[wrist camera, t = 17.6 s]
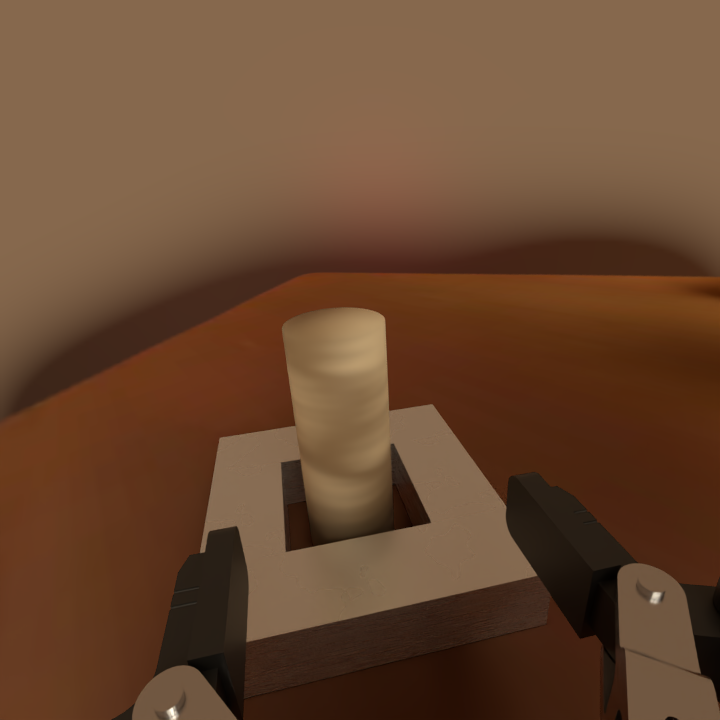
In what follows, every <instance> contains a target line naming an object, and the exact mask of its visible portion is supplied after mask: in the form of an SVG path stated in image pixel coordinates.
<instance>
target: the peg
mask: <svg viewBox="0 0 720 720" xmlns="http://www.w3.org/2000/svg"><path fill="white" fill-rule="evenodd" d="M282 333H283V340H284V347H285V354H286V361H287V368H288V375H289V382H290V390H291V397H292V404H293V411H294V418H295V425H296V432H297V439H298V446H299V453H300V460H301V467H302V474H303V481H304V488H305V495H306V503H307V510H308V517H309V524H310V531H311V538H312V545H313V547H314V546H319V545H324V544H329V543H334V542H339V541H344V540H349V539H354V538H359V537H364V536H369V535H374V534H379V533H384V532H389V531H394V512H393V489H392V467H391V444H390V421H389V398H388V375H387V352H386V330H385V318H384V317H383V316H382V315H381V314H379V313H377V312H375V311H372V310H367V309H361V308H329V309H321V310H316V311H311V312H307V313H304V314H301V315H298V316H295V317H293V318H291V319H289V320H288V321H287V322H285V323H284V325H283V326H282Z"/></svg>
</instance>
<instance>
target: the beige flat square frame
mask: <svg viewBox="0 0 720 720" xmlns="http://www.w3.org/2000/svg"><path fill="white" fill-rule="evenodd" d="M389 421H390V444H391V467H392V485H394V484H396V487H397V489H398V492H399V494H400V496H401V499H402V501H403V503H404V506H405V508H406V511H407V513H408V515H409V518H410V520H411V523H412V525H413V527H409V528H404V529H399V530H394V531H389V532H384V533H379V534H374V535H369V536H364V537H359V538H354V539H349V540H344V541H339V542H334V543H329V544H324V545H319V546H314V547H309V548H304V549H299V550H294V551H291V544H290V530H289V515H288V504H291V503H297V502H302V501H306V495H305V488H304V481H303V474H302V467H301V460H300V453H299V446H298V439H297V432H296V426H292V427H286V428H279V429H273V430H267V431H260V432H254V433H248V434H242V435H235V436H229V437H223V438H220V440H219V445H218V451H217V457H216V463H215V469H214V474H213V480H212V486H211V492H210V498H209V503H208V509H207V515H206V521H205V527H204V533H203V538H202V544H201V550H200V553H204V552H205V548H206V542H207V536H208V533H209V531H212V530H218V529H223V528H228V527H234V526H237V527H238V530H239V534H240V538H241V543H242V547H243V551H244V556H245V560H246V565H247V571H248V581H249V596H248V618H247V640H246V662H245V684H244V698H248V697H252V696H257V695H261V694H265V693H269V692H273V691H277V690H281V689H285V688H289V687H293V686H297V685H301V684H305V683H309V682H313V681H317V680H321V679H326V678H330V677H334V676H338V675H342V674H346V673H350V672H354V671H358V670H362V669H366V668H370V667H374V666H378V665H382V664H386V663H390V662H394V661H399V660H403V659H407V658H411V657H415V656H419V655H423V654H427V653H431V652H435V651H439V650H443V649H447V648H451V647H455V646H459V645H463V644H467V643H472V642H476V641H480V640H484V639H488V638H492V637H496V636H500V635H504V634H508V633H512V632H516V631H520V630H524V629H528V628H532V627H536V626H541V625H545V624H546V622H547V615H548V608H549V602H550V593H549V592H548V590H547V589H546V587H545V586H544V584H543V583H542V581H541V580H540V578H539V577H538V575H537V574H536V573H535V571H534V570H533V568H532V567H531V565H530V564H529V562H528V561H527V559H526V558H525V556H524V555H523V553H522V552H521V550H520V549H519V547H518V546H517V544H516V543H515V541H514V540H513V538H512V537H511V535H510V533H509V530H508V527H507V523H506V505H505V504H504V502H503V501H502V500H501V498H500V497H499V496H498V494H497V493H496V491H495V490H494V489H493V487H492V486H491V485H490V483H489V482H488V480H487V479H486V478H485V476H484V475H483V473H482V472H481V471H480V469H479V468H478V467H477V465H476V464H475V462H474V461H473V460H472V458H471V457H470V456H469V454H468V453H467V451H466V450H465V449H464V447H463V446H462V444H461V443H460V442H459V440H458V439H457V438H456V436H455V435H454V433H453V432H452V431H451V429H450V428H449V427H448V425H447V424H446V422H445V421H444V420H443V418H442V417H441V415H440V414H439V413H438V411H437V410H436V409H435V407H434V406H433V404H431V405H425V406H418V407H412V408H406V409H399V410H393V411H389Z"/></svg>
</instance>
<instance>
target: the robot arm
mask: <svg viewBox="0 0 720 720" xmlns="http://www.w3.org/2000/svg"><path fill="white" fill-rule="evenodd" d="M506 523H507V527H508V530H509V533H510V535H511V537H512V538H513V540H514V541H515V543H516V544H517V546H518V547H519V549H520V550H521V552H522V553H523V555H524V556H525V558H526V559H527V561H528V562H529V564H530V565H531V567H532V568H533V570H534V571H535V573H536V574H537V575H538V577H539V578H540V580H541V581H542V583H543V584H544V586H545V587H546V589H547V590H548V592H549V593H550V595H551V596H552V598H553V599H554V601H555V602H556V604H557V605H558V607H559V608H560V610H561V611H562V613H563V614H564V616H565V617H566V619H567V620H568V621H569V623H570V624H571V626H572V627H573V629H574V630H575V632H576V633H577V635H578V636H579V638H580V639H581V638H585V637H589V636H593V635H596V636H597V637H598V638H599V640H600V641H601V643H602V646H601V663H600V720H720V712H719V707H718V702H719V703H720V578H719V580H718V583H717V586H716V587H714V586H702V585H690V584H680V583H678V582H677V581H676V580H675V579H673V578H672V577H671V576H670V575H668V574H667V573H665V572H664V571H662V570H660V569H658V568H655V567H653V566H650V565H646V564H639V563H637V562H636V561H635V560H634V558H633V557H632V556H631V555H630V554H629V553H628V552H627V551H626V550H625V549H624V548H623V547H622V546H621V545H620V544H619V543H618V542H617V541H616V540H615V539H614V538H613V536H612V535H611V534H610V533H609V532H608V531H607V530H606V529H605V528H604V527H603V526H602V525H601V524H600V523H597V520H596V519H595V518H594V517H593V515H592V514H591V513H590V512H587V510H586V508H585V507H584V506H583V505H582V504H581V503H580V502H579V501H578V500H577V499H576V498H575V497H574V496H573V495H571V494H570V493H568V492H566V491H565V490H563V489H561V488H559V487H558V486H554V487H550V486H549V485H548V483H547V482H546V481H545V480H544V479H543V478H542V477H541V476H540V475H539V474H538V473H536V472H532V473H526V474H521V475H515V476H511V477H510V478H509V482H508V493H507V505H506ZM248 596H249V581H248V571H247V565H246V560H245V556H244V551H243V547H242V543H241V538H240V534H239V530H238V527H237V526H234V527H228V528H223V529H218V530H212V531H209V533H208V536H207V542H206V548H205V552H204V553H198V554H193V555H190V556H189V557H188V559H187V560H186V562H185V563H184V565H183V566H182V568H181V569H180V571H179V572H178V576H177V580H176V585H175V589H174V595H173V598H172V602H171V610H170V611H169V616H168V620H167V625H166V629H165V633H164V638H163V642H162V647H161V651H160V656H159V660H158V665H157V669H156V672H155V675H154V677H153V679H152V680H151V681H150V682H149V683H148V684H147V685H146V686H145V688H144V689H143V690H142V692H141V693H140V695H139V697H138V699H137V701H136V703H135V704H134V705H132V706H131V707H130V708H129V709H128V710H126V711H125V712H124V713H122V714H120V715H119V716H117V717H116V718H114V719H112V720H243V706H244V684H245V662H246V640H247V618H248ZM717 700H718V702H717Z"/></svg>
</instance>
